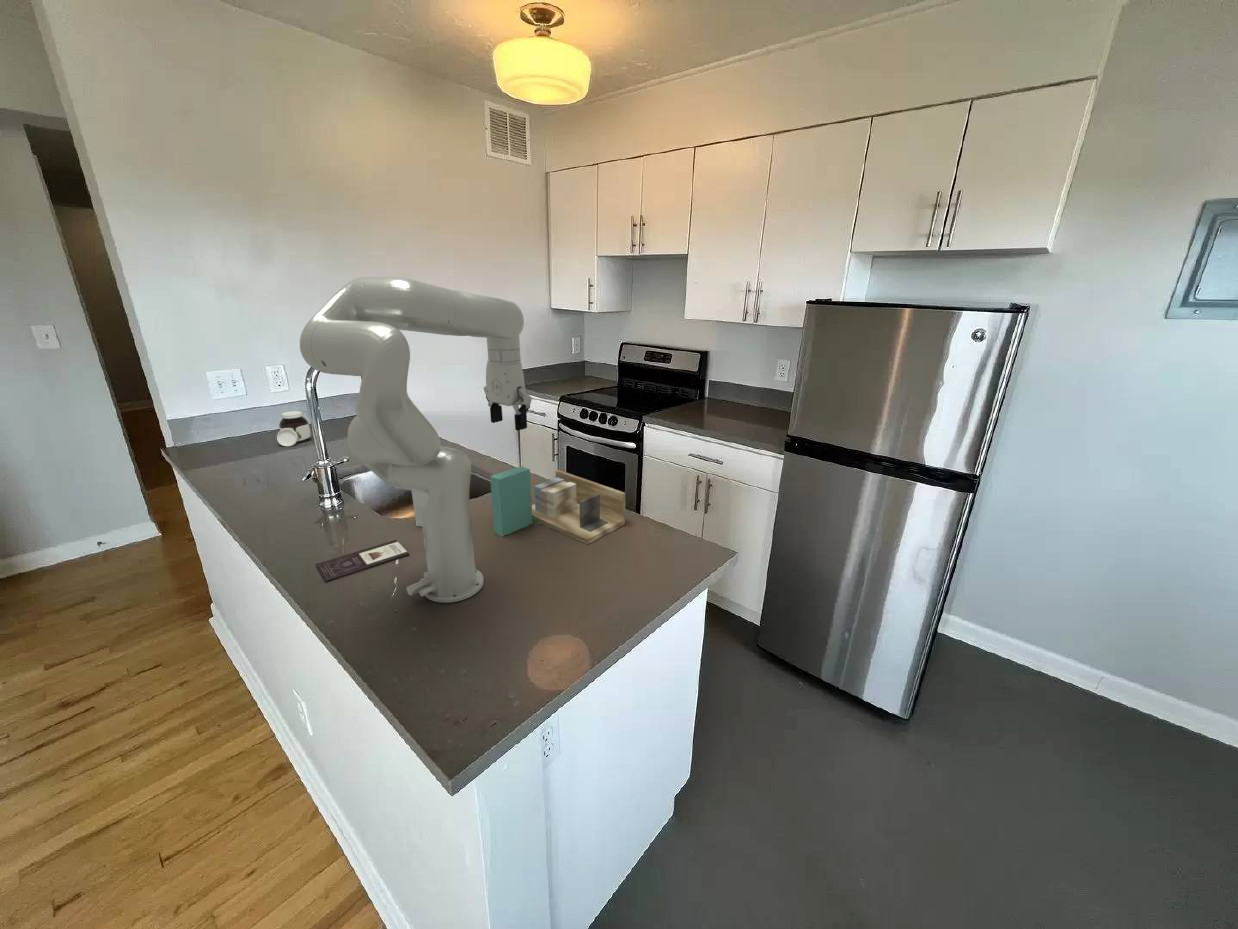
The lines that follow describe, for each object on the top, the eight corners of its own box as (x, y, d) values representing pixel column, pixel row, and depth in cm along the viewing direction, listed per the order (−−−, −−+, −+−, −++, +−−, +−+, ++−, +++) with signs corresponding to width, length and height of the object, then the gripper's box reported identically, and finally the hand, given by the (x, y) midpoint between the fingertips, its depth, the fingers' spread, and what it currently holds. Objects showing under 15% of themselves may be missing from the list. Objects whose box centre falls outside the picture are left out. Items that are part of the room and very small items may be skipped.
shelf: (587, 544, 126) (587, 510, 123) (520, 514, 142) (518, 483, 139) (624, 524, 137) (625, 492, 134) (559, 498, 153) (558, 469, 150)
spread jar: (310, 436, 208) (304, 409, 204) (315, 443, 200) (309, 415, 196) (275, 441, 201) (269, 413, 197) (280, 449, 192) (273, 419, 188)
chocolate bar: (315, 564, 115) (395, 539, 126) (316, 567, 115) (396, 543, 126) (325, 581, 109) (409, 553, 120) (326, 584, 109) (409, 557, 120)
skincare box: (436, 528, 133) (430, 476, 128) (414, 526, 134) (407, 475, 129) (449, 514, 141) (444, 465, 136) (429, 513, 142) (422, 464, 137)
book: (502, 536, 130) (498, 479, 124) (494, 532, 132) (490, 476, 126) (532, 523, 137) (529, 469, 131) (524, 519, 139) (521, 466, 133)
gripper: (469, 353, 121) (475, 421, 127) (514, 361, 110) (518, 435, 116) (495, 350, 126) (499, 416, 132) (540, 358, 116) (543, 429, 122)
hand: (508, 425), depth 124 cm, fingers open, 9 cm apart
